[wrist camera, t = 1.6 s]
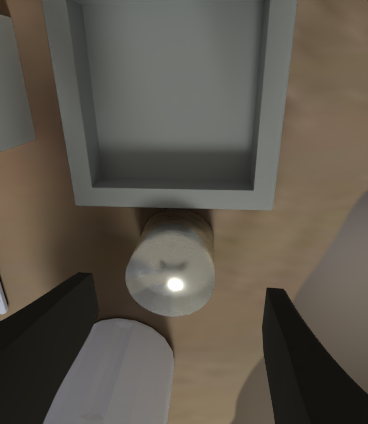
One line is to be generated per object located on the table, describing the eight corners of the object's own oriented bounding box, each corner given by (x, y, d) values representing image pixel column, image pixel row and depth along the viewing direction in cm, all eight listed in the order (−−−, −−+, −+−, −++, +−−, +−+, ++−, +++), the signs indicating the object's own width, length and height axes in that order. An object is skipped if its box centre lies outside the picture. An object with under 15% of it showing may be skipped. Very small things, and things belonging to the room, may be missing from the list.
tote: (264, 192, 21) (272, 210, 18) (92, 189, 22) (75, 205, 19) (286, -24, 16) (302, -46, 13) (64, -16, 17) (35, -35, 14)
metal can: (212, 272, 24) (213, 318, 19) (144, 269, 24) (129, 314, 20) (215, 208, 21) (216, 243, 17) (140, 207, 22) (121, 240, 17)
